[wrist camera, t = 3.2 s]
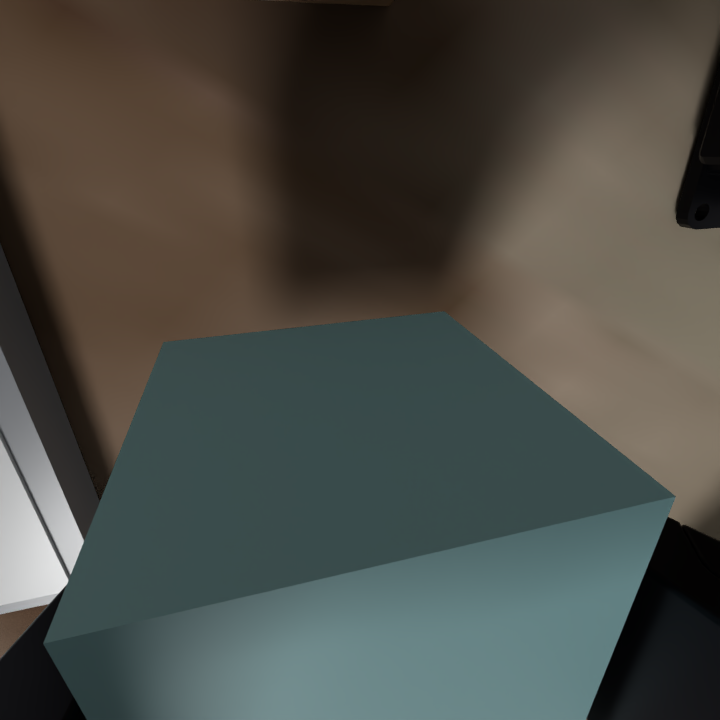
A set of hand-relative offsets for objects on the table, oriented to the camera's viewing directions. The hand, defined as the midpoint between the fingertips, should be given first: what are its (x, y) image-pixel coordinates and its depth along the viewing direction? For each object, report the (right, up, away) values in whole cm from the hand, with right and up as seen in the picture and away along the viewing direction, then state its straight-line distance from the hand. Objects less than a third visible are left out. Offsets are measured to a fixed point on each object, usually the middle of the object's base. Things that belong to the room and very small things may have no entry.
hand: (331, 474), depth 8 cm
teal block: (0, 0, +1) cm, 1 cm away
